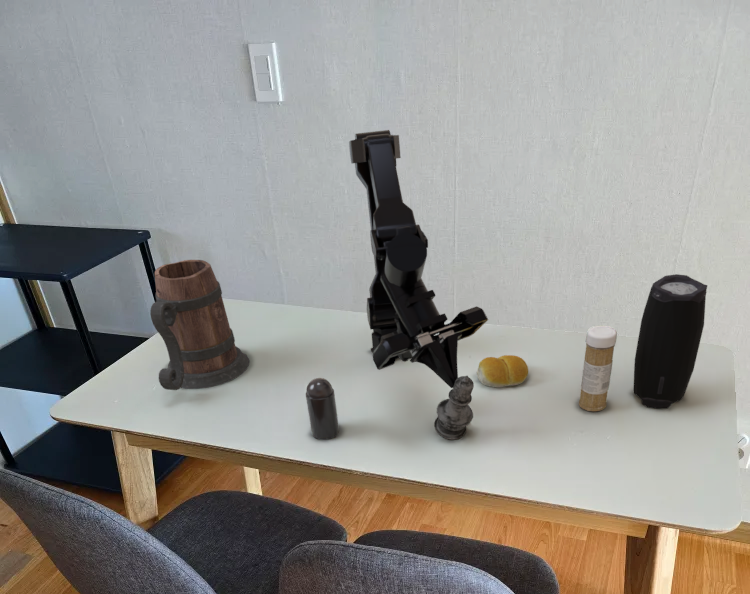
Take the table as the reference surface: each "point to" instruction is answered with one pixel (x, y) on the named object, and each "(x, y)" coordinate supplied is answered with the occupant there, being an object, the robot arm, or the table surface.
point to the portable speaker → (669, 340)
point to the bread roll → (502, 371)
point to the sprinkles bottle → (597, 367)
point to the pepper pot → (322, 409)
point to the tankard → (194, 327)
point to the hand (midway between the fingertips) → (454, 386)
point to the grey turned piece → (455, 410)
